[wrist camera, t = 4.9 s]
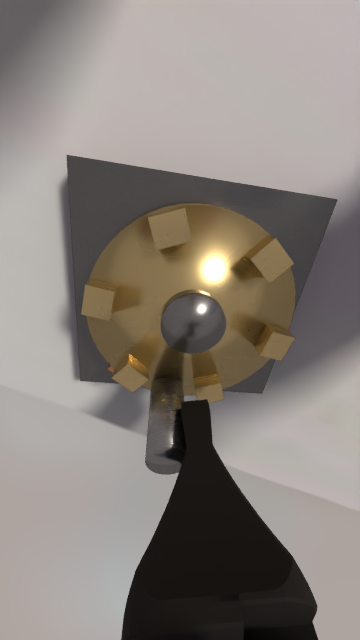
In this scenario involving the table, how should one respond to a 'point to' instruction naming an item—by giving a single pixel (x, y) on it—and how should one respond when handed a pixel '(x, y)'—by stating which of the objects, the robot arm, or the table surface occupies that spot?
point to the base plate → (169, 189)
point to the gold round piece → (188, 311)
